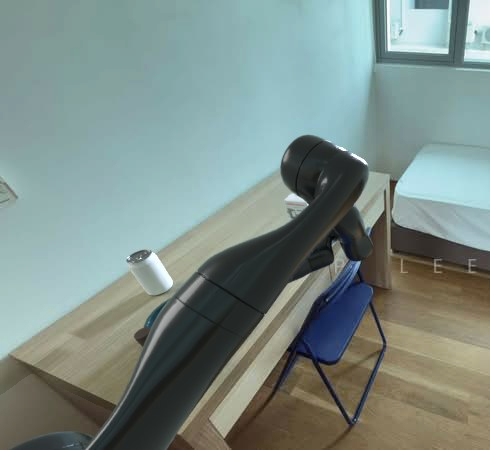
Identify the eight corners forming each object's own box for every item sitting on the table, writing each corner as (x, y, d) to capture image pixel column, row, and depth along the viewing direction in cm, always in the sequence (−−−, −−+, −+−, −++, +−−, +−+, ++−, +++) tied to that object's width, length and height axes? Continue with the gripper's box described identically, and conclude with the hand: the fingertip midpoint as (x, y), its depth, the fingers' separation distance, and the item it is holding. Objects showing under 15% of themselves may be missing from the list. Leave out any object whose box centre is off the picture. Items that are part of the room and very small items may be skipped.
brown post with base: (183, 387, 64) (147, 344, 55) (158, 388, 64) (118, 346, 55) (196, 364, 68) (164, 320, 60) (173, 365, 68) (137, 322, 60)
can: (142, 293, 86) (118, 261, 79) (162, 278, 91) (141, 246, 84) (159, 298, 85) (136, 266, 78) (179, 282, 90) (159, 250, 83)
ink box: (290, 228, 110) (282, 200, 103) (297, 221, 114) (289, 193, 107) (312, 231, 108) (305, 202, 102) (318, 223, 112) (312, 194, 106)
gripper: (273, 236, 70) (193, 263, 63) (290, 272, 60) (197, 309, 53) (281, 260, 74) (207, 288, 68) (299, 298, 64) (214, 335, 58)
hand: (203, 297), depth 61 cm, fingers open, 8 cm apart
